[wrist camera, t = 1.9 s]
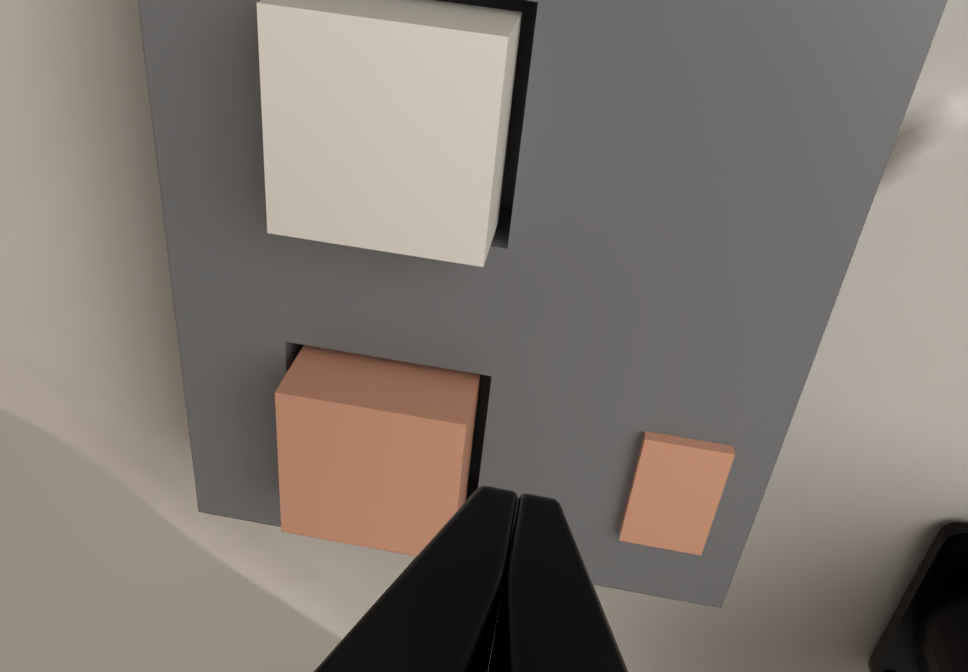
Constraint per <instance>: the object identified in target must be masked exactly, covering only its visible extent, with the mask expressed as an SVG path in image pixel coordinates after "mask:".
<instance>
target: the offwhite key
mask: <svg viewBox="0 0 968 672" xmlns="http://www.w3.org/2000/svg"><path fill="white" fill-rule="evenodd" d="M521 18H522V12H519V11H511V10H504V9H496V8H489V7H481V6H474V5H466V4H459V3H451V2H444V1H436V0H261V1H259V2H257V24H258V45H259V67H260V88H261V109H262V130H263V152H264V173H265V194H266V215H267V233H270V234H276V235H282V236H289V237H295V238H301V239H308V240H314V241H321V242H327V243H333V244H340V245H346V246H352V247H359V248H365V249H371V250H378V251H384V252H390V253H397V254H403V255H409V256H416V257H422V258H429V259H435V260H441V261H448V262H454V263H460V264H467V265H473V266H479V267H484V264H485V261H486V258H487V255H488V252H489V249H490V246H491V243H492V240H493V237H494V234H495V231H496V228H497V225H498V218H499V209H500V201H501V192H502V183H503V175H504V166H505V157H506V148H507V140H508V131H509V122H510V114H511V105H512V96H513V88H514V79H515V70H516V61H517V53H518V44H519V35H520V27H521Z"/></svg>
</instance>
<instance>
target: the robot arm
mask: <svg viewBox="0 0 968 672" xmlns="http://www.w3.org/2000/svg"><path fill="white" fill-rule="evenodd" d="M517 502H518V504H517ZM516 508H517V510H516ZM515 514H516V515H515ZM514 519H515V521H514ZM513 525H514V526H513ZM512 531H513V532H512ZM511 537H512V538H511ZM958 540H964V541H962V542H959V543H954V542H956V541H958ZM499 605H500V606H499ZM498 611H499V612H498ZM497 616H498V617H497ZM496 622H497V623H496ZM495 628H496V629H495ZM494 633H495V635H494ZM493 639H494V640H493ZM492 644H493V646H492ZM491 650H492V652H491ZM490 655H491V658H490ZM489 661H490V663H489ZM868 666H869V669H870V672H968V523H964V522H956V523H951V524H948V525H946V526H945V527H943V528H942V529H941V530H940V531H939V532H938V534H937V536H936V538H935V540H934V541H933V543H932V545H931V547H930V549H929V551H928V553H927V554H926V556H925V558H924V560H923V562H922V564H921V565H920V567H919V569H918V571H917V573H916V575H915V577H914V578H913V580H912V582H911V584H910V586H909V588H908V589H907V591H906V593H905V595H904V597H903V599H902V601H901V602H900V604H899V606H898V608H897V610H896V612H895V614H894V615H893V617H892V619H891V621H890V623H889V625H888V626H887V628H886V630H885V632H884V634H883V636H882V638H881V639H880V641H879V643H878V645H877V647H876V649H875V651H874V652H873V654H872V656H871V658H870V660H869V663H868ZM488 667H489V669H488ZM314 672H628V670H627V668H626V665H625V663H624V660H623V658H622V655H621V653H620V650H619V648H618V646H617V643H616V641H615V638H614V636H613V633H612V631H611V628H610V626H609V623H608V621H607V618H606V616H605V613H604V611H603V608H602V606H601V603H600V601H599V598H598V596H597V594H596V591H595V589H594V586H593V584H592V581H591V579H590V576H589V574H588V571H587V569H586V566H585V564H584V561H583V559H582V556H581V554H580V551H579V549H578V546H577V544H576V542H575V539H574V537H573V534H572V532H571V529H570V527H569V524H568V522H567V519H566V517H565V514H564V512H563V509H562V507H561V505H560V503H559V502H558V501H557V500H556V499H553V498H548V497H543V496H538V495H533V494H527V493H524V494H522V495H521V496H520V497H519V499H518V496H517V494H516V493H515V492H514V491H511V490H506V489H501V488H495V487H490V486H481V487H479V488H478V489H477V490H476V491H475V492H474V493H473V494H472V495H471V496H470V497H469V498H468V499H467V501H466V502H465V503H464V504H463V505H462V506H461V507H460V508H459V510H458V511H457V512H456V513H455V514H454V515H453V516H452V517H451V518H450V520H449V521H448V522H447V523H446V524H445V525H444V526H443V527H442V529H441V530H440V531H439V532H438V533H437V534H436V535H435V536H434V538H433V539H432V540H431V541H430V542H429V543H428V544H427V545H426V546H425V548H424V549H423V550H422V551H421V552H420V553H419V554H418V555H417V557H416V558H415V559H414V560H413V561H412V562H411V563H410V564H409V566H408V567H407V568H406V569H405V570H404V571H403V572H402V573H401V575H400V576H399V577H398V578H397V579H396V580H395V581H394V582H393V583H392V585H391V586H390V587H389V588H388V589H387V590H386V591H385V592H384V594H383V595H382V596H381V597H380V598H379V599H378V600H377V601H376V603H375V604H374V605H373V606H372V607H371V608H370V609H369V610H368V611H367V613H366V614H365V615H364V616H363V617H362V618H361V619H360V620H359V622H358V623H357V624H356V625H355V626H354V627H353V628H352V629H351V631H350V632H349V633H348V634H347V635H346V636H345V637H344V638H343V639H342V641H341V642H340V643H339V644H338V645H337V646H336V647H335V649H334V650H333V651H332V652H331V653H330V654H329V655H328V656H327V657H326V659H325V660H324V661H323V662H322V663H321V664H320V665H319V666H318V668H317V669H316V670H315V671H314Z"/></svg>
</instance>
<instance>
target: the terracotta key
mask: <svg viewBox="0 0 968 672" xmlns="http://www.w3.org/2000/svg"><path fill="white" fill-rule="evenodd" d="M480 375H481V374H475V373H470V372H464V371H458V370H452V369H446V368H440V367H434V366H428V365H422V364H416V363H410V362H404V361H398V360H392V359H386V358H380V357H374V356H368V355H362V354H356V353H350V352H344V351H338V350H332V349H326V348H320V347H314V346H308V345H304V346H303V348H302V349H301V351H300V352H299V354H298V356H297V357H296V359H295V360H294V362H293V364H292V365H291V367H290V369H289V370H288V372H287V373H286V375H285V377H284V378H283V380H282V381H281V383H280V385H279V386H278V388H277V390H276V391H275V407H276V428H277V449H278V471H279V492H280V513H281V531H283V532H288V533H294V534H299V535H305V536H310V537H315V538H321V539H326V540H332V541H337V542H342V543H348V544H353V545H359V546H364V547H369V548H375V549H380V550H386V551H391V552H397V553H402V554H407V555H413V556H417V555H418V554H419V553H420V552H421V551H422V550H423V549H424V548H425V546H426V545H427V544H428V543H429V542H430V541H431V540H432V539H433V538H434V536H435V535H436V534H437V533H438V532H439V531H440V530H441V529H442V527H443V526H444V525H445V524H446V523H447V522H448V521H449V520H450V518H451V517H452V516H453V515H454V514H455V513H456V512H457V511H458V510H459V508H460V507H461V506H462V505H463V504H464V503H465V502H466V497H467V488H468V479H469V471H470V462H471V453H472V444H473V436H474V427H475V418H476V410H477V401H478V392H479V384H480Z"/></svg>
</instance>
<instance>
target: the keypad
mask: <svg viewBox="0 0 968 672" xmlns="http://www.w3.org/2000/svg"><path fill="white" fill-rule="evenodd" d="M259 1H261V0H138V4H139V13H140V21H141V30H142V38H143V46H144V55H145V63H146V72H147V80H148V88H149V97H150V105H151V114H152V122H153V131H154V139H155V147H156V156H157V164H158V173H159V181H160V189H161V198H162V206H163V215H164V223H165V232H166V240H167V248H168V257H169V265H170V274H171V282H172V291H173V299H174V307H175V316H176V324H177V333H178V341H179V349H180V358H181V366H182V375H183V383H184V392H185V400H186V408H187V417H188V425H189V434H190V442H191V450H192V459H193V467H194V476H195V484H196V493H197V501H198V509H199V512H203V513H208V514H214V515H219V516H224V517H230V518H235V519H241V520H246V521H251V522H257V523H262V524H268V525H273V526H279V527H281V513H280V492H279V471H278V449H277V428H276V407H275V391H276V390H277V388H278V386H279V385H280V383H281V381H282V380H283V378H284V377H285V375H286V373H287V372H288V370H289V369H290V367H291V365H292V364H293V362H294V360H295V359H296V357H297V356H298V354H299V352H300V351H301V349H302V348H303V346H304V345H308V346H314V347H320V348H326V349H332V350H338V351H344V352H350V353H356V354H362V355H368V356H374V357H380V358H386V359H392V360H398V361H404V362H410V363H416V364H422V365H428V366H434V367H440V368H446V369H452V370H458V371H464V372H470V373H475V374H481V375H480V384H479V392H478V401H477V410H476V418H475V427H474V436H473V444H472V453H471V462H470V471H469V479H468V488H467V497H466V501H467V499H468V498H469V497H470V496H471V495H472V494H473V493H474V492H475V491H476V490H477V489H478V488H479V487H481V486H490V487H495V488H501V489H506V490H511V491H514V492H515V493H516V494H517V496H518V499H519V497H520V496H521V495H522V494H524V493H527V494H533V495H538V496H543V497H548V498H553V499H556V500H557V501H558V502H559V503H560V505H561V507H562V509H563V512H564V514H565V517H566V519H567V522H568V524H569V527H570V529H571V532H572V534H573V537H574V539H575V542H576V544H577V546H578V549H579V551H580V554H581V556H582V559H583V561H584V564H585V566H586V569H587V571H588V574H589V576H590V579H591V581H592V584H593V585H598V586H604V587H609V588H615V589H620V590H626V591H631V592H636V593H642V594H647V595H653V596H658V597H663V598H669V599H674V600H680V601H685V602H691V603H696V604H701V605H707V606H712V607H718V608H722V605H723V603H724V600H725V597H726V594H727V592H728V589H729V586H730V584H731V581H732V578H733V576H734V573H735V570H736V568H737V565H738V562H739V559H740V557H741V554H742V551H743V549H744V546H745V543H746V541H747V538H748V535H749V533H750V530H751V527H752V525H753V522H754V519H755V516H756V514H757V511H758V508H759V506H760V503H761V500H762V498H763V495H764V492H765V490H766V487H767V484H768V481H769V479H770V476H771V473H772V471H773V468H774V465H775V463H776V460H777V457H778V455H779V452H780V449H781V447H782V444H783V441H784V438H785V436H786V433H787V430H788V428H789V425H790V422H791V420H792V417H793V414H794V412H795V409H796V406H797V403H798V401H799V398H800V395H801V393H802V390H803V387H804V385H805V382H806V379H807V377H808V374H809V371H810V369H811V366H812V363H813V360H814V358H815V355H816V352H817V350H818V347H819V344H820V342H821V339H822V336H823V334H824V331H825V328H826V325H827V323H828V320H829V317H830V315H831V312H832V309H833V307H834V304H835V301H836V299H837V296H838V293H839V290H840V288H841V285H842V282H843V280H844V277H845V274H846V272H847V269H848V266H849V264H850V261H851V258H852V256H853V253H854V250H855V247H856V245H857V242H858V239H859V237H860V234H861V231H862V229H863V226H864V223H865V221H866V218H867V215H868V212H869V210H870V207H871V204H872V202H873V199H874V196H875V194H876V191H877V188H878V186H879V183H880V180H881V178H882V175H883V172H884V169H885V167H886V164H887V161H888V159H889V156H890V153H891V151H892V148H893V145H894V143H895V140H896V137H897V134H898V132H899V129H900V126H901V124H902V121H903V118H904V116H905V113H906V110H907V108H908V105H909V102H910V100H911V97H912V94H913V91H914V89H915V86H916V83H917V81H918V78H919V75H920V73H921V70H922V67H923V65H924V62H925V59H926V56H927V54H928V51H929V48H930V46H931V43H932V40H933V38H934V35H935V32H936V30H937V27H938V24H939V22H940V19H941V16H942V13H943V11H944V8H945V5H946V3H947V0H436V1H444V2H451V3H459V4H466V5H474V6H481V7H489V8H496V9H504V10H511V11H519V12H522V18H521V27H520V35H519V44H518V53H517V61H516V70H515V79H514V88H513V96H512V105H511V114H510V122H509V131H508V140H507V148H506V157H505V166H504V175H503V183H502V192H501V201H500V209H499V218H498V225H497V228H496V231H495V234H494V237H493V240H492V243H491V246H490V249H489V252H488V255H487V258H486V261H485V264H484V267H479V266H473V265H467V264H460V263H454V262H448V261H441V260H435V259H429V258H422V257H416V256H409V255H403V254H397V253H390V252H384V251H378V250H371V249H365V248H359V247H352V246H346V245H340V244H333V243H327V242H321V241H314V240H308V239H301V238H295V237H289V236H282V235H276V234H270V233H267V215H266V194H265V173H264V152H263V130H262V109H261V88H260V67H259V45H258V24H257V2H259ZM517 504H518V502H517ZM516 510H517V508H516ZM515 515H516V514H515ZM514 521H515V519H514ZM513 526H514V525H513ZM512 532H513V531H512ZM511 538H512V537H511Z"/></svg>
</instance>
